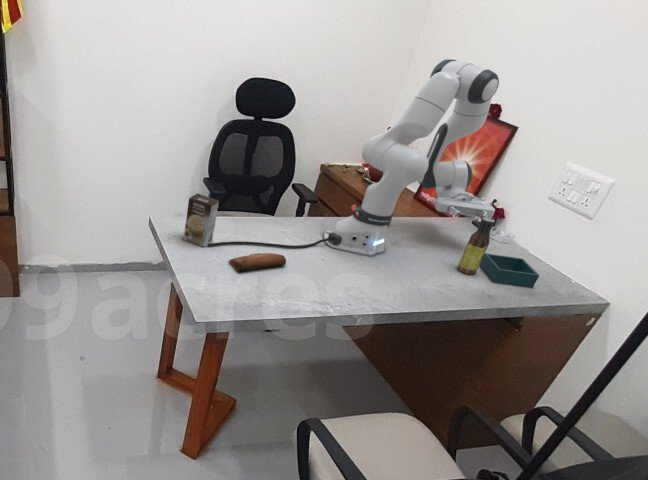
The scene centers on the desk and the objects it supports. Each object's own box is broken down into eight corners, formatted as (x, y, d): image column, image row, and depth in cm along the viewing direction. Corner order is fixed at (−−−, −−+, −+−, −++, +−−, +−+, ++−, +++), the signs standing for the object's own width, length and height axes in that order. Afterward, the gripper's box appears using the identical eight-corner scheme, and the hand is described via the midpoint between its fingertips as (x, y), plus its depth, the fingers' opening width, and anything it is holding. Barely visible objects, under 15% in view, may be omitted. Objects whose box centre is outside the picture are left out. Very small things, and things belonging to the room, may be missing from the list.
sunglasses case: (271, 254, 181) (280, 244, 176) (279, 271, 179) (288, 261, 173) (227, 260, 174) (235, 249, 169) (234, 278, 172) (242, 268, 166)
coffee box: (182, 239, 186) (187, 197, 177) (191, 234, 191) (196, 192, 182) (204, 247, 182) (211, 205, 173) (213, 241, 187) (219, 200, 178)
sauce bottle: (477, 276, 183) (502, 225, 172) (459, 273, 184) (483, 222, 173) (472, 267, 189) (495, 217, 178) (454, 265, 189) (476, 214, 179)
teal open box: (492, 282, 181) (499, 269, 178) (478, 265, 191) (484, 253, 188) (532, 287, 180) (539, 275, 177) (516, 270, 190) (522, 258, 188)
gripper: (433, 190, 198) (445, 203, 186) (488, 198, 197) (503, 212, 185) (427, 206, 202) (439, 219, 190) (481, 213, 200) (495, 228, 189)
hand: (471, 216), depth 188 cm, fingers open, 8 cm apart
